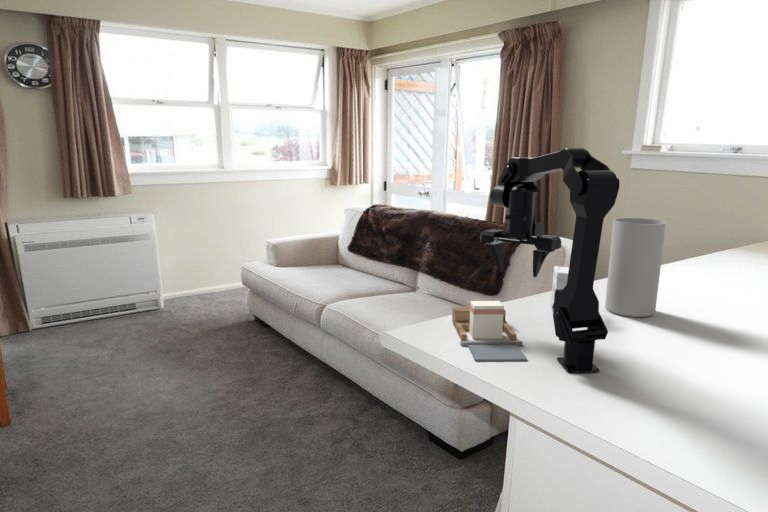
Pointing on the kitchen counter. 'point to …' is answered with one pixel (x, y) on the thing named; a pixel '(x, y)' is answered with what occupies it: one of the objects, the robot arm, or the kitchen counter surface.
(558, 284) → the ink box
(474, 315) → the block
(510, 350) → the mat
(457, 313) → the cradle
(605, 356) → the kitchen counter surface
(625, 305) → the cylinder vase
